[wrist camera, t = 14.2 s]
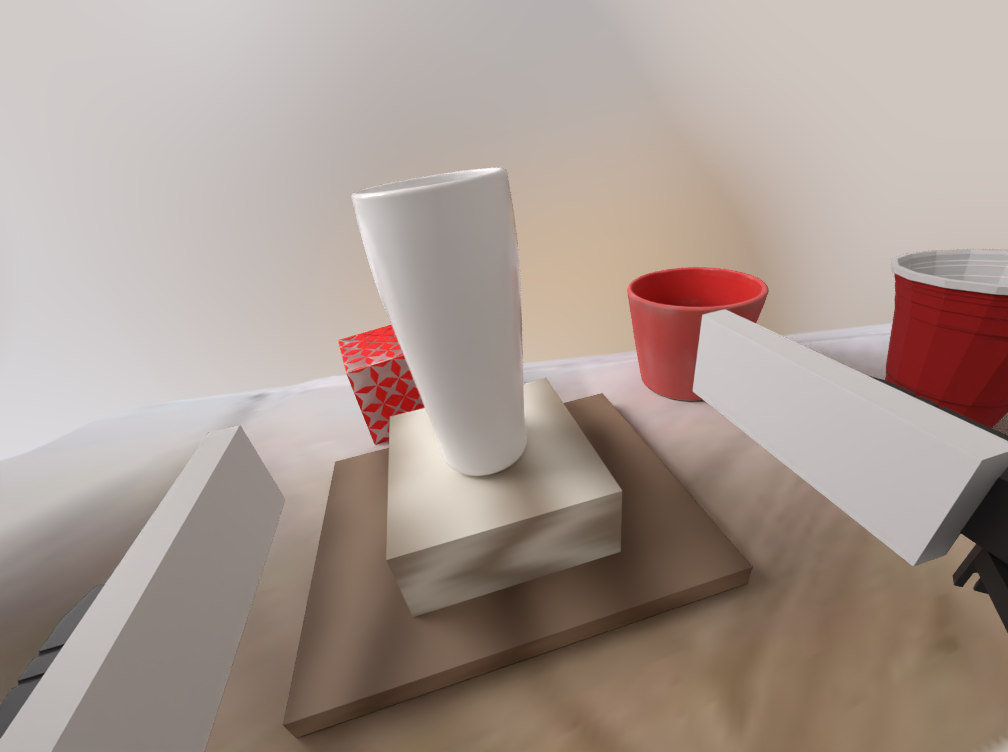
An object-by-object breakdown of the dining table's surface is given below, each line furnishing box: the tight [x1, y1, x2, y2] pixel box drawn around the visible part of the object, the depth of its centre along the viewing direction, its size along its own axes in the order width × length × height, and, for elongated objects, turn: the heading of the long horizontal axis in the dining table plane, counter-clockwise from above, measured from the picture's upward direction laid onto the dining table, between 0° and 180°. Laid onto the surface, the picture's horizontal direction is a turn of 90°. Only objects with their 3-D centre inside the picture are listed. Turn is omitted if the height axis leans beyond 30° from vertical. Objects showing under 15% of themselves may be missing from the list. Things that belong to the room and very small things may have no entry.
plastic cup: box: [885, 249, 1008, 428], centre depth 28 cm, size 11×11×12 cm
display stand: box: [283, 378, 752, 738], centre depth 26 cm, size 24×18×6 cm
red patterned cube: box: [338, 325, 425, 444], centre depth 39 cm, size 8×8×8 cm
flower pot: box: [628, 267, 768, 401], centre depth 37 cm, size 11×11×10 cm
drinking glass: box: [351, 168, 527, 476], centre depth 21 cm, size 7×7×15 cm
